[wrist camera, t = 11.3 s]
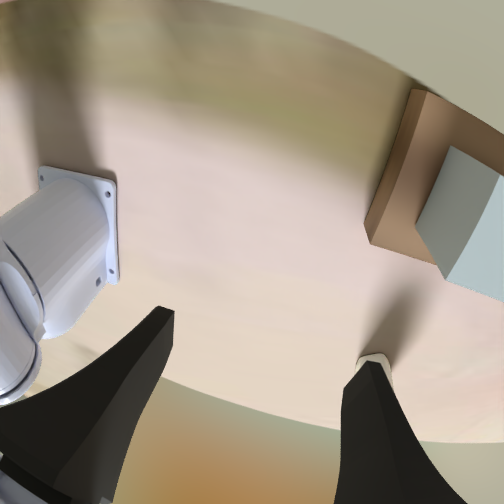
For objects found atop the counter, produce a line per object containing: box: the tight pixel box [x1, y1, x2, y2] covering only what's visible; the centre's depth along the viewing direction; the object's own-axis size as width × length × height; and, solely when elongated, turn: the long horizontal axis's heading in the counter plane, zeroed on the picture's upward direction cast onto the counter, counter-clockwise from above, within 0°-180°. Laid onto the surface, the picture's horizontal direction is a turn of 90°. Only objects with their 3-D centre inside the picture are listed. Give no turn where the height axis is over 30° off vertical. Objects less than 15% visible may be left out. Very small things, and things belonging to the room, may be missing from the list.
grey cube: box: [415, 145, 504, 302], centre depth 12 cm, size 5×5×5 cm
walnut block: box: [364, 88, 504, 265], centre depth 15 cm, size 9×9×3 cm
